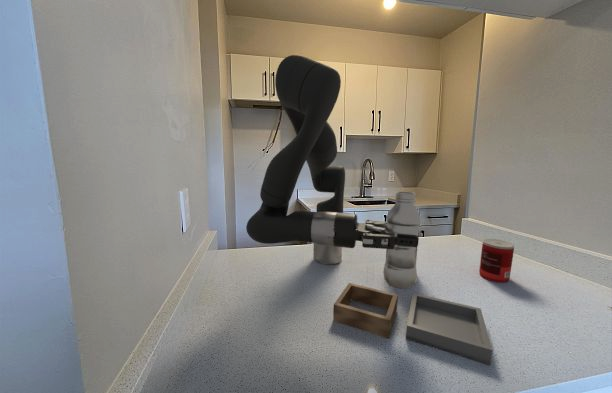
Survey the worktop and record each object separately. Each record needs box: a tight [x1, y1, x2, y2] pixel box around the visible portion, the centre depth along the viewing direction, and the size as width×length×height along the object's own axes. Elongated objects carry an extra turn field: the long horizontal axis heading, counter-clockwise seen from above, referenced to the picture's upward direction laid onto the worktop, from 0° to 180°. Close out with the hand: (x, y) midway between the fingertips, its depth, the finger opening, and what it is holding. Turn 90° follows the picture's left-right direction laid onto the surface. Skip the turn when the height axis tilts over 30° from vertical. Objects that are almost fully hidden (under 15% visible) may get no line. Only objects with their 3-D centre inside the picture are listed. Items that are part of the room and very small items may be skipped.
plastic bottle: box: [383, 191, 422, 290], centre depth 53 cm, size 6×7×20 cm
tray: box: [405, 292, 493, 366], centre depth 54 cm, size 14×14×3 cm
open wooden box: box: [332, 282, 399, 340], centre depth 59 cm, size 12×11×4 cm
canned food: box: [479, 238, 515, 283], centre depth 78 cm, size 8×8×11 cm
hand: (415, 236), depth 52 cm, fingers closed on plastic bottle, 6 cm apart
